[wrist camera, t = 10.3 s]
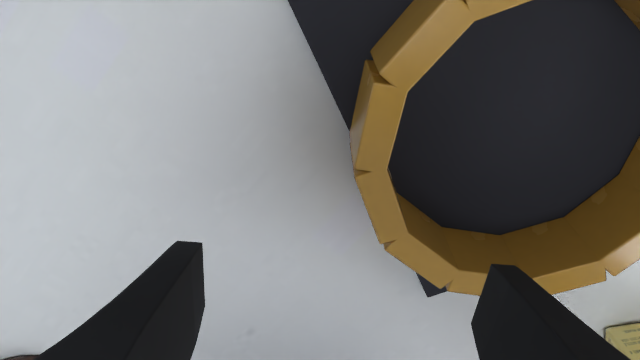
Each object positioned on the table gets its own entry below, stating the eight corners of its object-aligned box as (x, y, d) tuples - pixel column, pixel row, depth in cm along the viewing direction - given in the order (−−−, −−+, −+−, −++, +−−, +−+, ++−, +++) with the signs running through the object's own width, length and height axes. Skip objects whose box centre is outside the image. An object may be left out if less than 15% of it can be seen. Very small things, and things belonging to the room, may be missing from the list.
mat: (764, 178, 20) (772, 182, 20) (426, 292, 24) (427, 298, 23) (765, -553, 11) (780, -570, 10) (198, -192, 14) (195, -196, 14)
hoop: (682, 204, 20) (740, 247, 18) (401, 282, 23) (412, 331, 20) (685, -123, 15) (772, -136, 12) (306, 26, 17) (303, 44, 14)
